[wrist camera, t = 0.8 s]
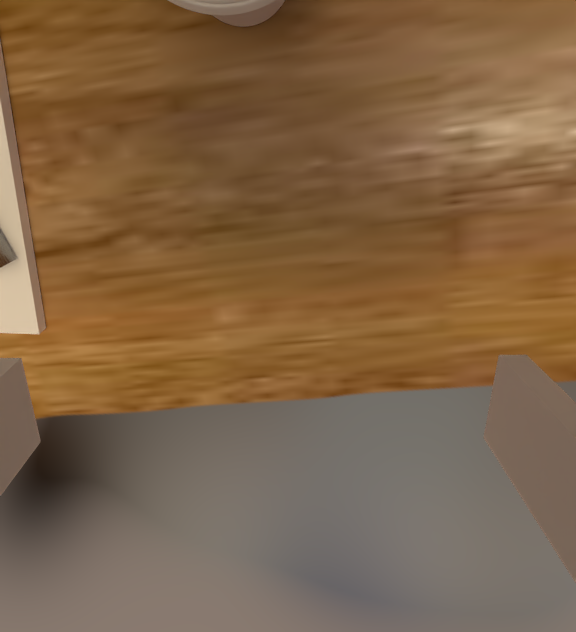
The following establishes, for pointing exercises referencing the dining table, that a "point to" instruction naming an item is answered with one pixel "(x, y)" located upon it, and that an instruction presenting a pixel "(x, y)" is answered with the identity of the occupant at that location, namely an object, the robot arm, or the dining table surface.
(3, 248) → the tongs jaw
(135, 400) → the dining table surface
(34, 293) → the board
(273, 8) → the coffee cup
